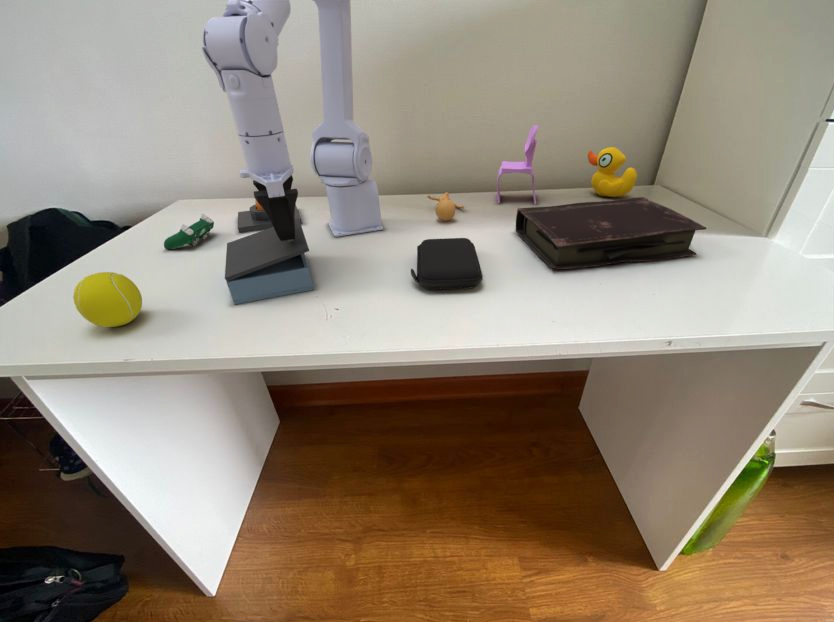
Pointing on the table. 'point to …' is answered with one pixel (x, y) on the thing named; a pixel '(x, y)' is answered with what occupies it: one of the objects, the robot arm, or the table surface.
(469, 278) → the carrying case
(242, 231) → the control block
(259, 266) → the lid
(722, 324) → the table surface
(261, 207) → the button
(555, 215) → the diary
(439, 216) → the figurine
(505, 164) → the toy chair
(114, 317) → the tennis ball
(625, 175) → the duckling
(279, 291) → the lidded storage box
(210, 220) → the green toy race car
